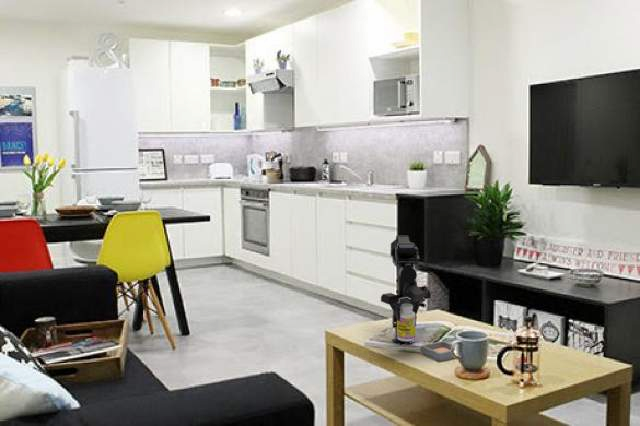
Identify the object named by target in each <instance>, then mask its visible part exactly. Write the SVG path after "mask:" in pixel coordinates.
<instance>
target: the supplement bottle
mask: <svg viewBox="0 0 640 426" xmlns="http://www.w3.org/2000/svg"><path fill="white" fill-rule="evenodd" d="M400 309H401V310H400V321H398V320H397V339H398V340H400V341H413V340H414V341H415V340H416V327H415V313H414V312H413V311H412V309H413V305H412V304H402V305H401V307H400Z"/></svg>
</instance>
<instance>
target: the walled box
mask: <svg viewBox="0 0 640 426" xmlns="http://www.w3.org/2000/svg"><path fill="white" fill-rule="evenodd" d="M452 344H453V343H452V342H451V343H450V342H449V341H445V340H441V341H437V342H436V341H435V342H432V343H427V344H422V345H420V348H419V349H420V350H419V353H420V354H421V355H422V356H425V357H427V358H429V359H431V360H433V361H435V362H438V363H443V362H447V361H452V360H456V359H455V358H454V357H453V356H452V354H451V351H450V350H451V346H452Z"/></svg>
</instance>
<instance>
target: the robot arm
mask: <svg viewBox="0 0 640 426" xmlns="http://www.w3.org/2000/svg"><path fill="white" fill-rule="evenodd" d="M419 252H420V251H419V248H418V246H417V245H416V244H415V243H414V242H412V241H411V240H410V237H409V235H407V234H405V235H402V234H401V235H396V236H395V239H394V240H393V241H392V242H391V243H390V257H392V258H391V259H392V263H393V265H394V266H395V267H396V279H395V282H396V283H397V284H396V285H397V290H396V291H395V293H392V292H387V293H382V295H381V296H380V302H381V303H384V304H386V305H389V306H390V308H391V310H392V317H391V318H392V320H391V321H392V323H391V324H392V328H393V329H394V328H395V332H394V333H395V338H392V342H394V343H396V344H398V343H399V345H401V344H404V345H407V344H406V343H409V344H411V343H410V342H412V341H400V340H398V339H397V320H398V321H400V310H401V309H400V307H401V305H402V304H412V305H413V309H412V311H413V312H414V313H415V328H416V327H417V314H418V311H419V309H420V306H421V304H422V303H424V302H426V300H427V299H431V298H432V292H431V291H430V290H429V288H428V286H427V285H422V286H418V285H417V283H418V282H417V280H416V279H417V276H418V275H417V270H416V268H415V265H416V264H419V261H420V253H419ZM409 299H410V300H409Z"/></svg>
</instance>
